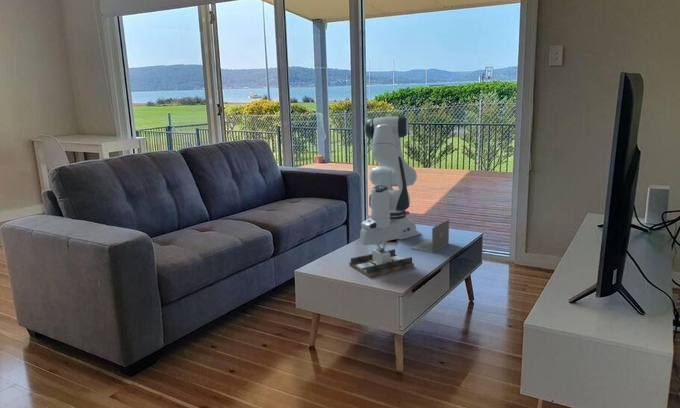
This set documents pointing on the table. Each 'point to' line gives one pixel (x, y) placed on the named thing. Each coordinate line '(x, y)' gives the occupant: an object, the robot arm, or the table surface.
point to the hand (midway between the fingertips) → (381, 250)
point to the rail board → (374, 268)
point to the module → (381, 256)
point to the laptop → (435, 239)
